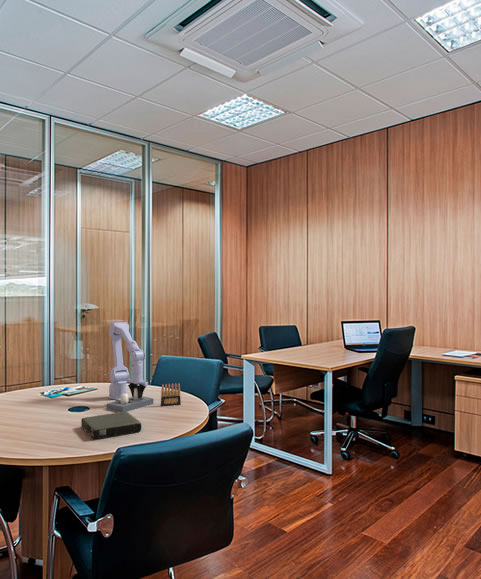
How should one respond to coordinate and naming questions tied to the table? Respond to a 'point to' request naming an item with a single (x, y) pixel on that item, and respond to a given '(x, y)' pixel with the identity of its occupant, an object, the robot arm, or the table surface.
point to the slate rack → (128, 403)
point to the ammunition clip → (170, 395)
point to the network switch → (110, 425)
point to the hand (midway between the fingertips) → (137, 397)
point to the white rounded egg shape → (136, 395)
